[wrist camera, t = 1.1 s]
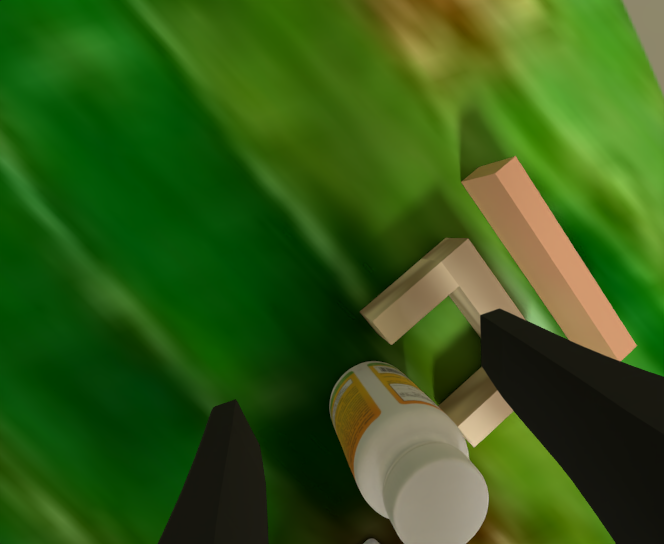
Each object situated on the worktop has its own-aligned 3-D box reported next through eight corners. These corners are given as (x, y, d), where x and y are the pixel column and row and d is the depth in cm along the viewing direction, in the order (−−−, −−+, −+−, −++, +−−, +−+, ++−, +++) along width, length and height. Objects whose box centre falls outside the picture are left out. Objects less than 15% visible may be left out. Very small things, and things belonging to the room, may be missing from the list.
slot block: (452, 425, 25) (474, 447, 23) (359, 311, 23) (372, 321, 21) (529, 354, 26) (559, 368, 23) (445, 237, 24) (468, 238, 21)
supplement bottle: (344, 455, 24) (400, 598, 15) (315, 379, 23) (355, 478, 14) (420, 421, 25) (521, 536, 16) (396, 346, 24) (486, 419, 15)
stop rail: (572, 345, 27) (619, 362, 23) (460, 182, 24) (495, 173, 20) (588, 331, 27) (636, 345, 23) (478, 166, 24) (515, 156, 21)
